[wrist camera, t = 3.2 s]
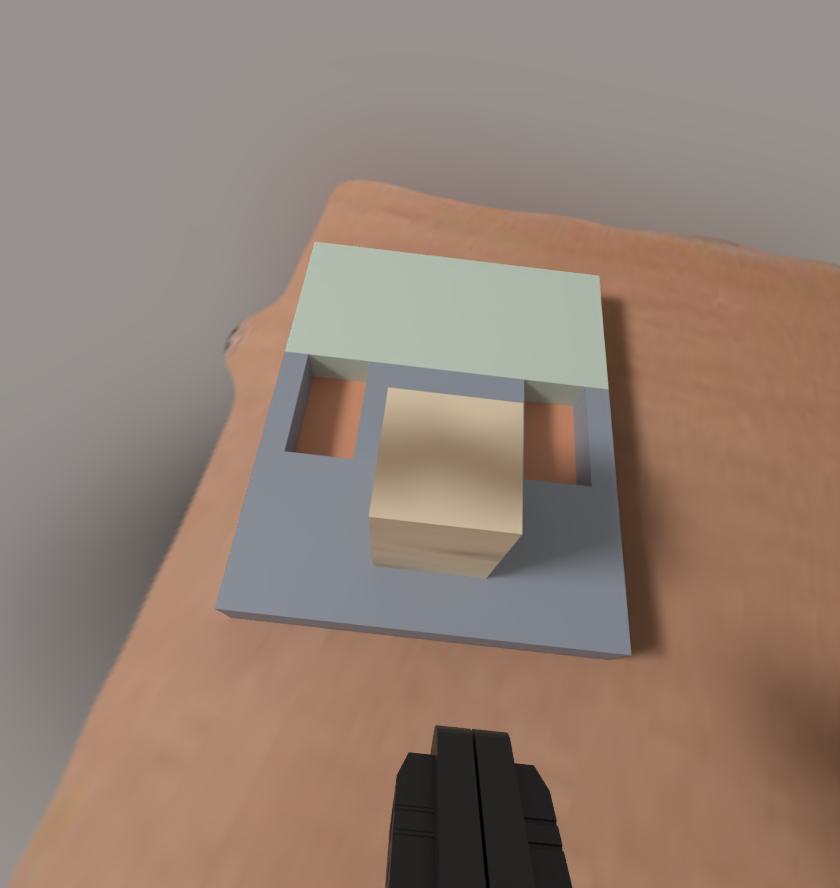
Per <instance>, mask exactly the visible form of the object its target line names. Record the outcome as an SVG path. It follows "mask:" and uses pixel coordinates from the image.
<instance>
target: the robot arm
mask: <svg viewBox="0 0 840 888" xmlns="http://www.w3.org/2000/svg"><path fill="white" fill-rule="evenodd" d="M556 821H557V820H556V816H555V812H554V807H553V803H552V799H551V795H550V791H549V789H548V788H547V786H546V784H545V783H544V781H543V780H542V778H541V776H540V775H539V773H538V772H537V770H536V768H535V767H534V765H526V764H516V763H514V758H513V753H512V747H511V741H510V737H509V735H508V733H506V732H496V731H487V730H477V729H472V731H471V729H466V728H457V727H447V726H438V725H436V726H435V729H434V735H433V741H432V748H431V754H430V755H429V754H419V753H410V752H409V753H408V755H407V757H406V759H405V761H404V763H403V764H402V766H401V768H400V770H399V772H398V774H397V778H396V785H395V793H394V800H393V808H392V815H391V823H390V830H389V844H388V857H387V870H386V883H385V888H572V884H571V880H570V876H569V872H568V867H567V863H566V859H565V854H564V852H563V851H562V842H561V837H560V833H559V829H558V826H557V825H556Z"/></svg>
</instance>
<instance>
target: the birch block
mask: <svg viewBox="0 0 840 888" xmlns="http://www.w3.org/2000/svg"><path fill="white" fill-rule="evenodd" d="M522 512H523V403H518V402H510V401H501V400H492V399H484V398H475V397H467V396H458V395H450V394H441V393H432V392H424V391H415V390H407V389H398V388H390V387H388V392H387V399H386V405H385V412H384V418H383V425H382V432H381V438H380V445H379V451H378V458H377V465H376V471H375V478H374V485H373V491H372V498H371V504H370V511H369V527H370V538H371V549H372V561H373V566H379V567H387V568H396V569H405V570H414V571H423V572H432V573H441V574H449V575H458V576H467V577H476V578H485V579H486V578H487V577H488V575H489V574H490V573H491V572H492V571H493V569H494V568H495V567H496V566H497V564H498V563H499V562H500V561H501V560H502V558H503V557H504V556H505V555H506V554H507V552H508V551H509V550H510V549H511V547H512V546H513V545H514V544H515V543H516V541H517V540H518V539H519V538H520V537H521V535H522Z"/></svg>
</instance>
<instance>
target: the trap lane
mask: <svg viewBox="0 0 840 888" xmlns="http://www.w3.org/2000/svg"><path fill="white" fill-rule="evenodd" d="M388 387H390V388H398V389H407V390H415V391H424V392H432V393H441V394H450V395H458V396H467V397H475V398H484V399H492V400H501V401H510V402H518V403H523V512H522V535H521V537H520V538H519V539H518V540H517V541H516V543H515V544H514V545H513V546H512V547H511V549H510V550H509V551H508V552H507V554H506V555H505V556H504V557H503V558H502V560H501V561H500V562H499V563H498V564H497V566H496V567H495V568H494V569H493V571H492V572H491V573H490V574H489V575H488V577H487V578H486V579H485V578H476V577H467V576H458V575H449V574H441V573H432V572H423V571H414V570H405V569H396V568H387V567H379V566H373V561H372V549H371V538H370V527H369V511H370V504H371V498H372V491H373V485H374V478H375V471H376V465H377V458H378V451H379V445H380V438H381V432H382V425H383V418H384V412H385V405H386V399H387V392H388ZM215 609H216V610H218V611H220V612H222V613H224V614H225V615H227V616H229V617H231V618H239V619H248V620H257V621H266V622H275V623H284V624H293V625H302V626H311V627H320V628H329V629H338V630H347V631H356V632H365V633H373V634H382V635H391V636H400V637H409V638H418V639H427V640H436V641H445V642H454V643H463V644H472V645H481V646H490V647H499V648H508V649H517V650H526V651H535V652H544V653H553V654H561V655H570V656H579V657H588V658H597V659H606V660H609V659H614V658H620V657H625V656H631V645H630V633H629V621H628V610H627V598H626V586H625V575H624V563H623V551H622V540H621V528H620V516H619V504H618V493H617V481H616V469H615V458H614V446H613V434H612V423H611V411H610V399H609V387H608V376H607V364H606V352H605V341H604V329H603V317H602V306H601V294H600V282H599V276H597V275H588V274H580V273H571V272H563V271H555V270H546V269H538V268H530V267H521V266H513V265H505V264H496V263H488V262H480V261H471V260H463V259H455V258H446V257H438V256H429V255H421V254H413V253H404V252H396V251H388V250H379V249H371V248H363V247H354V246H346V245H338V244H329V243H321V242H315V243H314V247H313V251H312V254H311V258H310V262H309V265H308V269H307V273H306V276H305V280H304V284H303V287H302V291H301V295H300V298H299V302H298V306H297V309H296V313H295V317H294V320H293V324H292V328H291V331H290V335H289V339H288V342H287V346H286V350H285V353H284V357H283V361H282V364H281V368H280V372H279V375H278V379H277V383H276V386H275V390H274V394H273V397H272V401H271V405H270V408H269V412H268V416H267V419H266V423H265V427H264V430H263V434H262V438H261V441H260V445H259V449H258V452H257V456H256V460H255V463H254V467H253V471H252V474H251V478H250V482H249V485H248V489H247V493H246V496H245V500H244V504H243V507H242V511H241V515H240V518H239V522H238V526H237V529H236V533H235V537H234V540H233V544H232V548H231V551H230V555H229V559H228V562H227V566H226V570H225V573H224V577H223V581H222V584H221V588H220V592H219V595H218V599H217V603H216V606H215Z"/></svg>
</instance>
